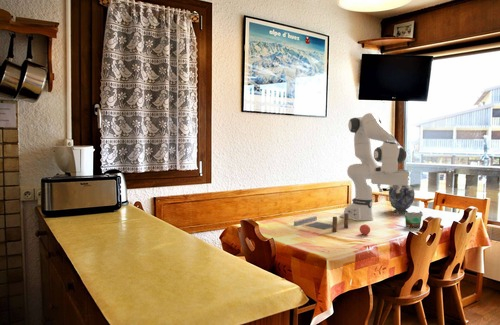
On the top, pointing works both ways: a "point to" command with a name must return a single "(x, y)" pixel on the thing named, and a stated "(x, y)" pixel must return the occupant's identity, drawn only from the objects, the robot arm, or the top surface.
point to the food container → (413, 219)
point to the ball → (365, 229)
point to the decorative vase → (401, 198)
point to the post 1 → (334, 224)
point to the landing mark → (320, 225)
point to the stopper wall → (305, 220)
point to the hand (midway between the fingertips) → (389, 192)
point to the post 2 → (346, 220)
